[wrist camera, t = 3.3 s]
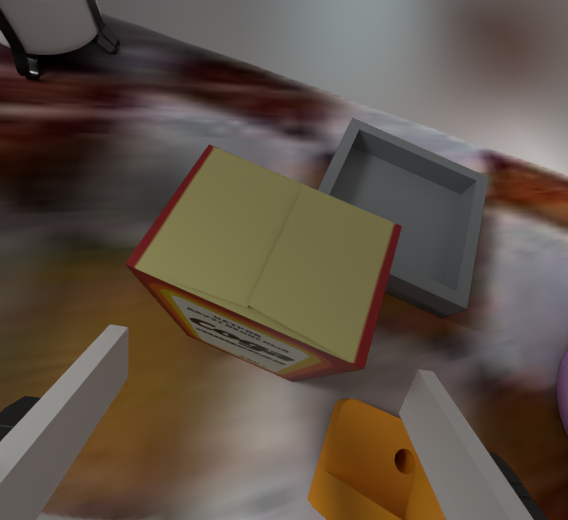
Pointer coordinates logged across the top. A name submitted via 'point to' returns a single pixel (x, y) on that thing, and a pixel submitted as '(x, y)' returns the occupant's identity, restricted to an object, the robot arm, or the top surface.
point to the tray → (414, 212)
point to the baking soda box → (268, 268)
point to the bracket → (370, 469)
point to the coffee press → (50, 29)
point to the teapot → (563, 392)
